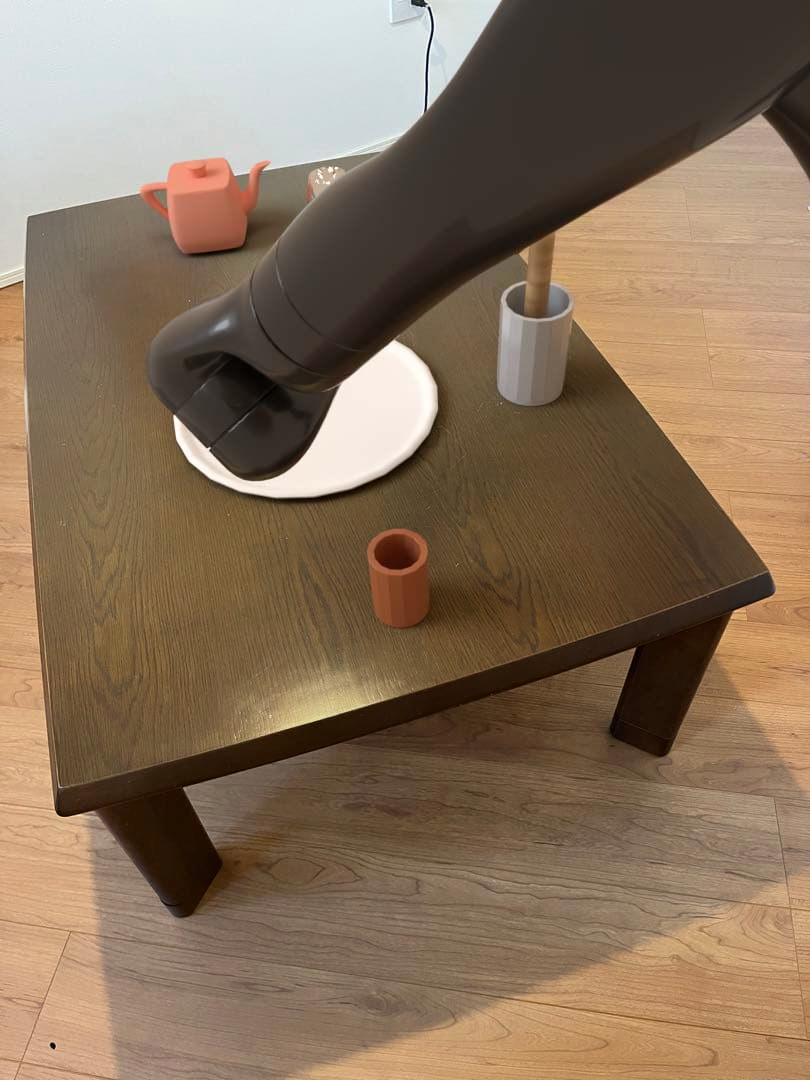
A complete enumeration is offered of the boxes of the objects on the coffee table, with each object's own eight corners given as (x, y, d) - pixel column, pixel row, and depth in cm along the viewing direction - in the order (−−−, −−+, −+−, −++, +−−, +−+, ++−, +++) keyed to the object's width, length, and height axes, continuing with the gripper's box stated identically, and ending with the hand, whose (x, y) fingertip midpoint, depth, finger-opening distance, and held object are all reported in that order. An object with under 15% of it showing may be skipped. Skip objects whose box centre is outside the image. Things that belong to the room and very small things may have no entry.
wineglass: (308, 270, 111) (296, 182, 102) (327, 248, 114) (316, 161, 105) (347, 277, 109) (338, 189, 100) (365, 255, 113) (358, 167, 103)
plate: (493, 419, 90) (493, 410, 89) (262, 550, 79) (260, 541, 78) (341, 302, 106) (340, 293, 105) (131, 398, 95) (127, 389, 94)
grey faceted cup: (568, 369, 95) (579, 284, 87) (556, 411, 90) (567, 325, 82) (504, 360, 97) (509, 276, 88) (490, 400, 92) (494, 315, 84)
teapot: (155, 223, 121) (135, 151, 113) (279, 207, 122) (267, 135, 114) (153, 265, 113) (131, 191, 105) (285, 248, 115) (272, 174, 107)
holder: (436, 588, 75) (434, 534, 70) (420, 634, 72) (417, 581, 66) (383, 577, 76) (378, 523, 71) (366, 621, 73) (358, 568, 68)
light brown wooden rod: (548, 381, 93) (568, 209, 77) (528, 393, 92) (544, 220, 76) (530, 369, 94) (545, 198, 79) (510, 379, 93) (522, 208, 78)
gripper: (482, 229, 51) (589, 126, 60) (298, 180, 57) (421, 91, 65) (479, 331, 57) (578, 223, 66) (312, 278, 62) (424, 184, 71)
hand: (499, 158), depth 65 cm, fingers open, 8 cm apart
